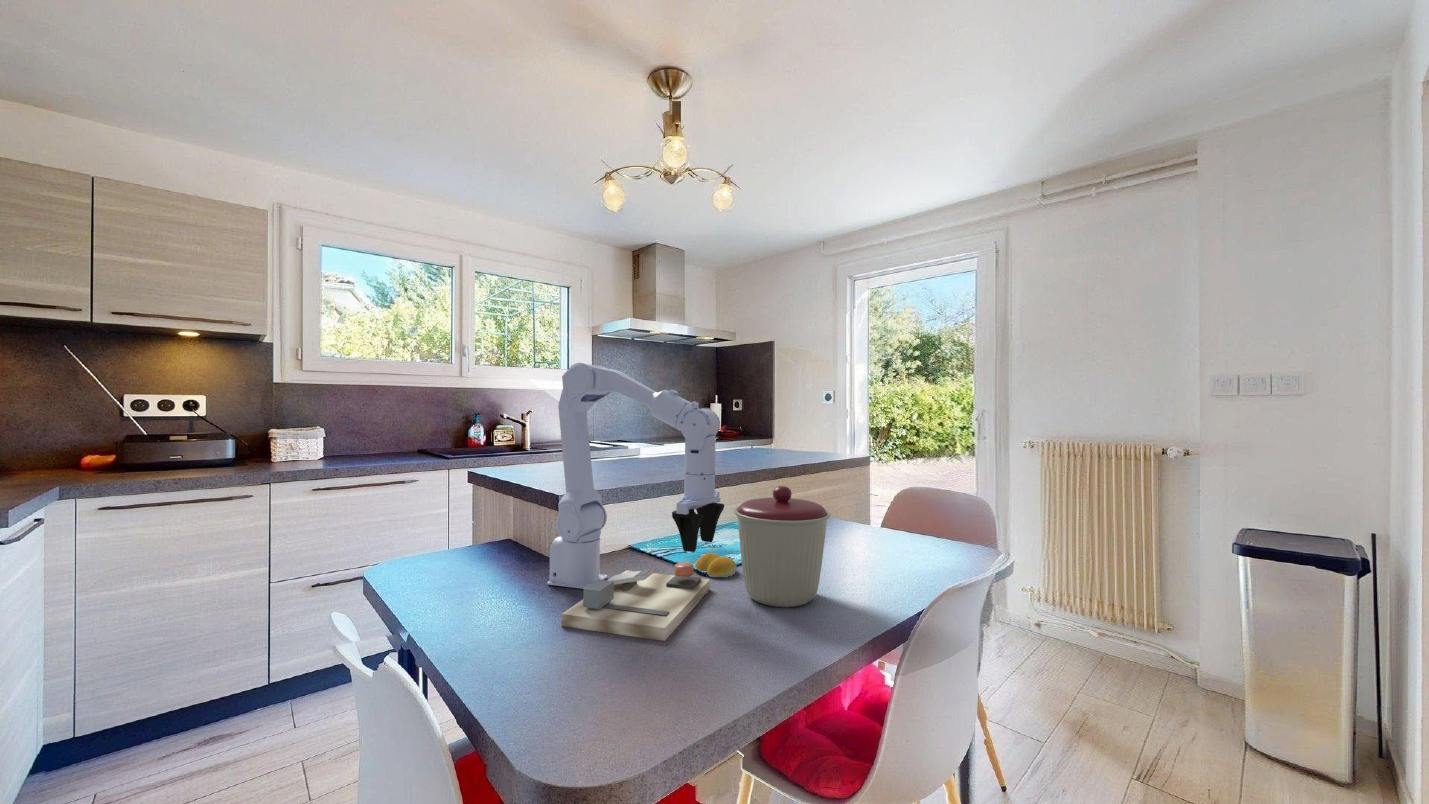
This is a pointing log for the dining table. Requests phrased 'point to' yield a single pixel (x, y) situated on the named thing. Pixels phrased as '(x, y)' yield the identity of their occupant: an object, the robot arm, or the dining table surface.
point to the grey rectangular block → (598, 594)
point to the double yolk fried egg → (716, 565)
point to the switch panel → (642, 607)
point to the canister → (781, 548)
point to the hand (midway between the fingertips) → (698, 546)
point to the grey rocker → (631, 576)
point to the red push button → (684, 569)
